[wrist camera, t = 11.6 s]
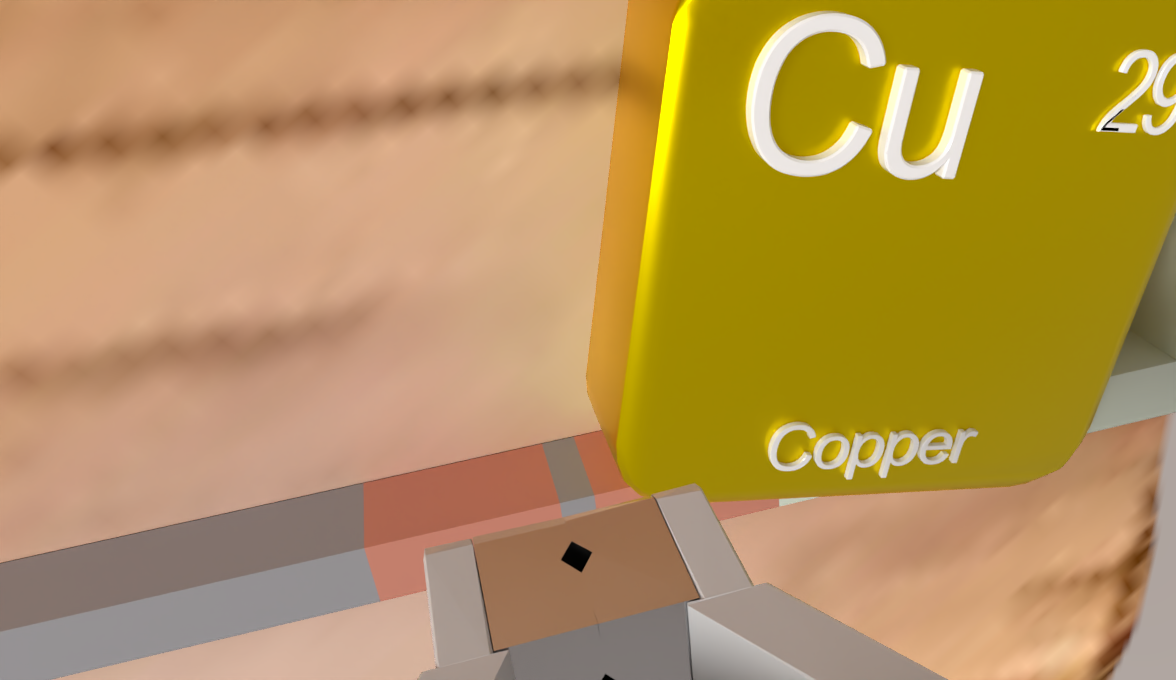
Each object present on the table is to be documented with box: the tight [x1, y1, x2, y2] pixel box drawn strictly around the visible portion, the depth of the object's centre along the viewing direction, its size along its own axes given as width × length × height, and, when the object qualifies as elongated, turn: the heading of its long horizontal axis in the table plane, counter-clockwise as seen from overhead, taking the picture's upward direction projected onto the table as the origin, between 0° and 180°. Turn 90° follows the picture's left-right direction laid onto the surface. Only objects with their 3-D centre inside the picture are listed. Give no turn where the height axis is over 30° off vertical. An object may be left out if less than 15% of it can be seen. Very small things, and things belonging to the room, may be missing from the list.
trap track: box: [0, 214, 1176, 680], centre depth 24 cm, size 23×39×3 cm, turn 97°
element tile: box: [586, 0, 1176, 503], centre depth 26 cm, size 15×15×5 cm
